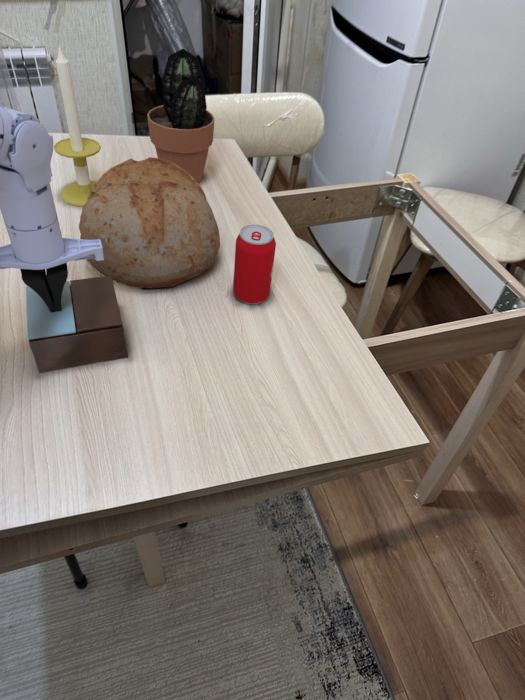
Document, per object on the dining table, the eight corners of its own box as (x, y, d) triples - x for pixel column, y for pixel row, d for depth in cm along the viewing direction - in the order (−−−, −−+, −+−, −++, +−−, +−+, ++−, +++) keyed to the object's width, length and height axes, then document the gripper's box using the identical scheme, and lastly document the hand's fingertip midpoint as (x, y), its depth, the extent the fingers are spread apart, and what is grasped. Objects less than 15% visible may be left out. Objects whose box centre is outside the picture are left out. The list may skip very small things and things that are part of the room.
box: (39, 373, 66) (27, 338, 61) (36, 321, 73) (25, 285, 68) (127, 357, 69) (122, 323, 65) (117, 309, 76) (111, 274, 72)
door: (28, 340, 62) (27, 337, 61) (26, 288, 68) (25, 286, 68) (76, 332, 63) (75, 330, 63) (69, 283, 70) (69, 280, 70)
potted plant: (138, 178, 106) (126, 49, 89) (176, 157, 115) (172, 36, 97) (189, 198, 102) (188, 67, 85) (224, 175, 111) (229, 52, 93)
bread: (84, 213, 94) (70, 136, 84) (203, 208, 100) (204, 135, 89) (84, 300, 77) (66, 216, 66) (228, 288, 83) (233, 209, 72)
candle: (85, 212, 95) (56, 57, 76) (49, 195, 98) (12, 42, 79) (121, 193, 101) (103, 45, 82) (86, 177, 104) (61, 32, 85)
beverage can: (270, 286, 84) (278, 225, 76) (267, 309, 80) (275, 247, 71) (235, 281, 84) (239, 220, 76) (229, 304, 80) (233, 241, 71)
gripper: (92, 195, 61) (107, 281, 70) (-38, 206, 56) (-3, 296, 66) (99, 225, 56) (113, 313, 66) (-42, 239, 52) (-4, 330, 62)
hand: (55, 307), depth 66 cm, fingers closed, pressing on door
